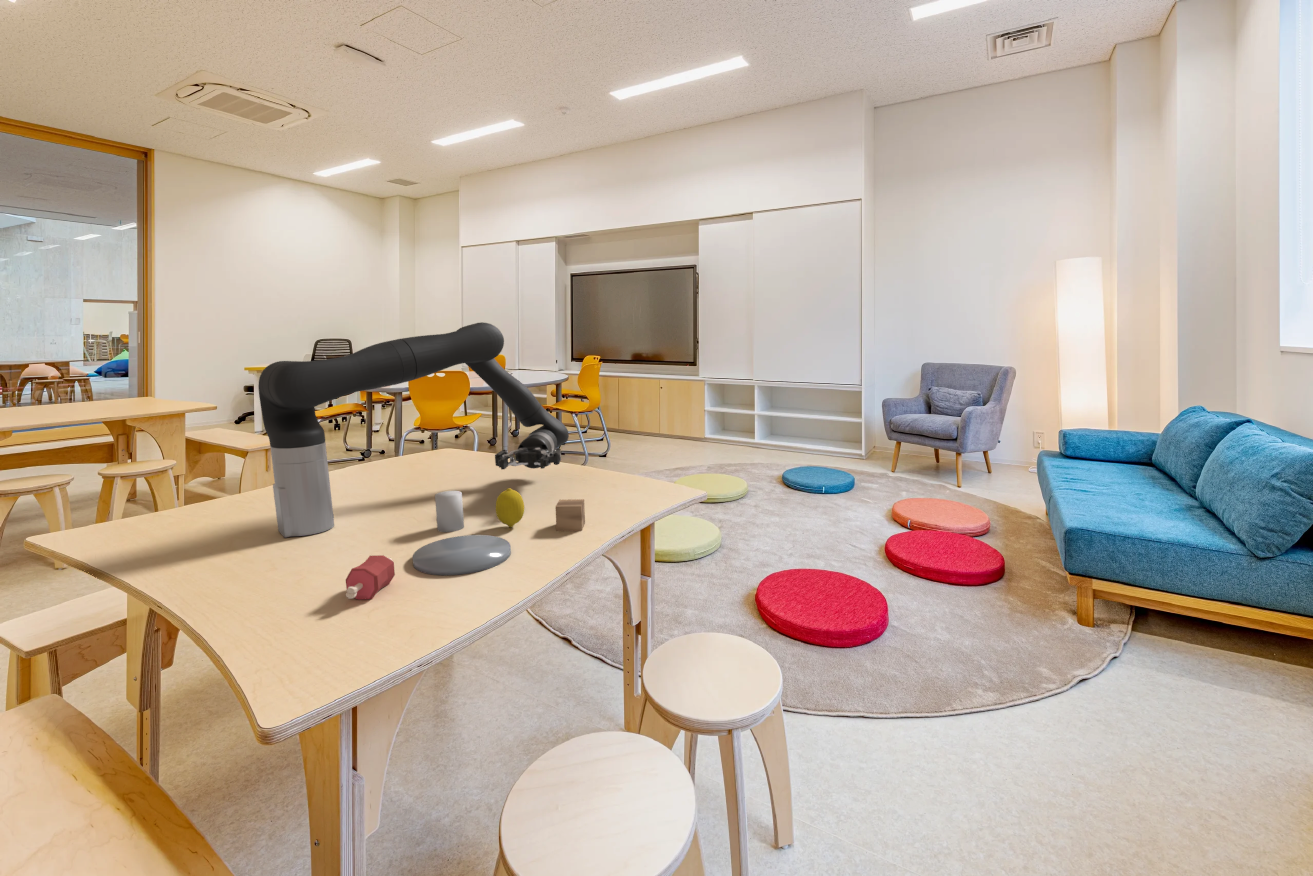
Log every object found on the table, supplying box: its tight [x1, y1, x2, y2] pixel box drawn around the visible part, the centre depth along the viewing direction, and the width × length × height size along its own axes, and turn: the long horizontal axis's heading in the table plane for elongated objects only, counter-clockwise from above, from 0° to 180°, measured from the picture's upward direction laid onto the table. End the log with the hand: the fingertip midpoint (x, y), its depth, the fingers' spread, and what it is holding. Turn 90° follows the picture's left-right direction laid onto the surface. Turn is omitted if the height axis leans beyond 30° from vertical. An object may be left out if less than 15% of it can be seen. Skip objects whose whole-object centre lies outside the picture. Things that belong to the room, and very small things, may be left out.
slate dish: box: [412, 534, 512, 576], centre depth 102 cm, size 16×16×1 cm
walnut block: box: [555, 498, 586, 532], centre depth 117 cm, size 5×5×5 cm
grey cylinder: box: [434, 490, 465, 533], centre depth 117 cm, size 5×5×7 cm
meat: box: [345, 554, 396, 600], centre depth 88 cm, size 12×5×5 cm, turn 178°
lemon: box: [495, 487, 525, 528], centre depth 117 cm, size 6×6×8 cm
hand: (522, 464), depth 127 cm, fingers open, 8 cm apart
